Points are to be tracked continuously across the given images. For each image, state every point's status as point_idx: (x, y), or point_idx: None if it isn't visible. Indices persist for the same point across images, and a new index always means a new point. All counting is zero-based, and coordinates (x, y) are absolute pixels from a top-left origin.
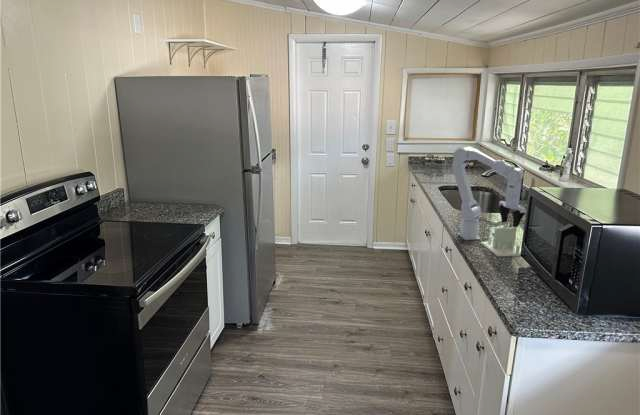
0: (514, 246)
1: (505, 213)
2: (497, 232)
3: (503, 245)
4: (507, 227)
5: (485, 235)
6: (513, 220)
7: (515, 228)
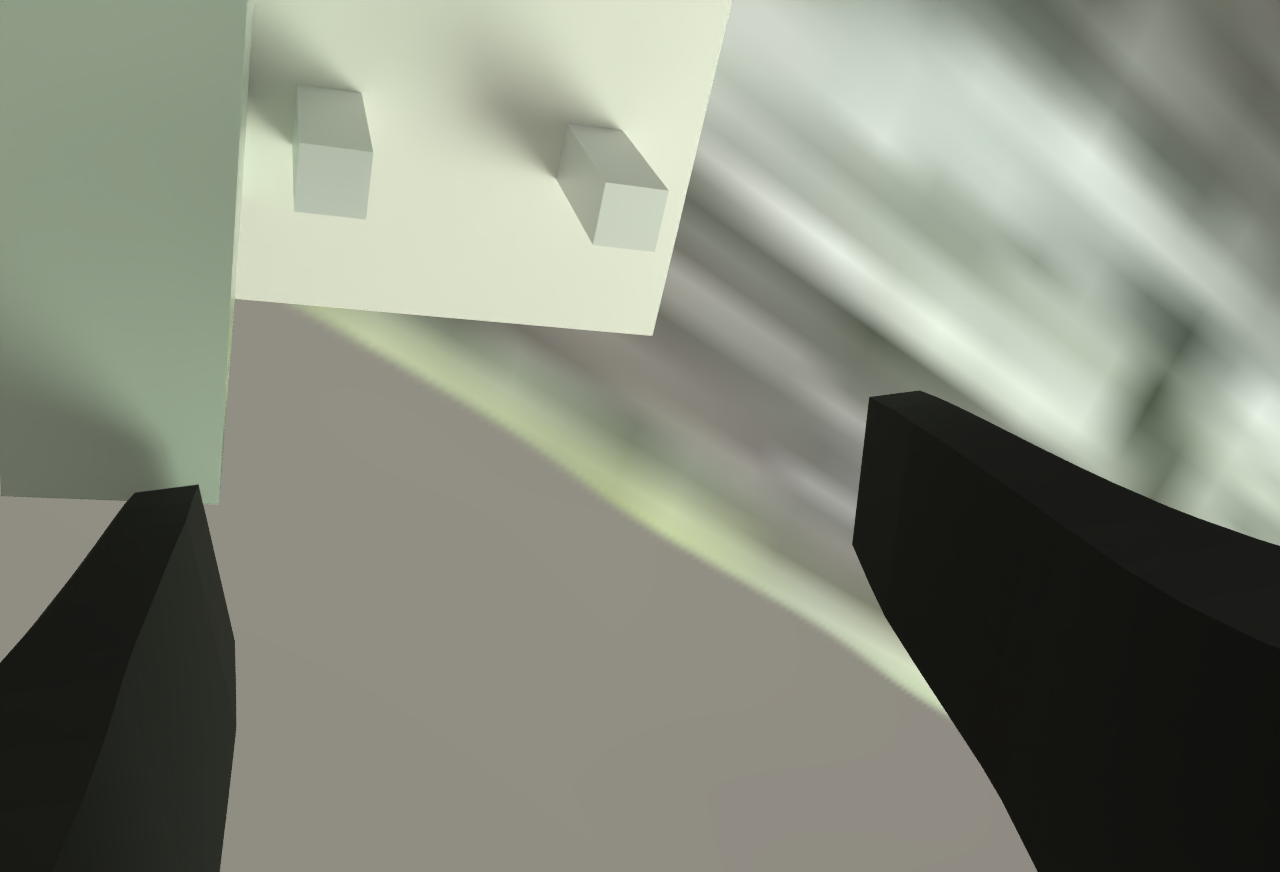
0: None
1: (1065, 737)
2: None
3: None
4: (219, 212)
5: (1233, 129)
6: (123, 644)
7: (12, 464)
